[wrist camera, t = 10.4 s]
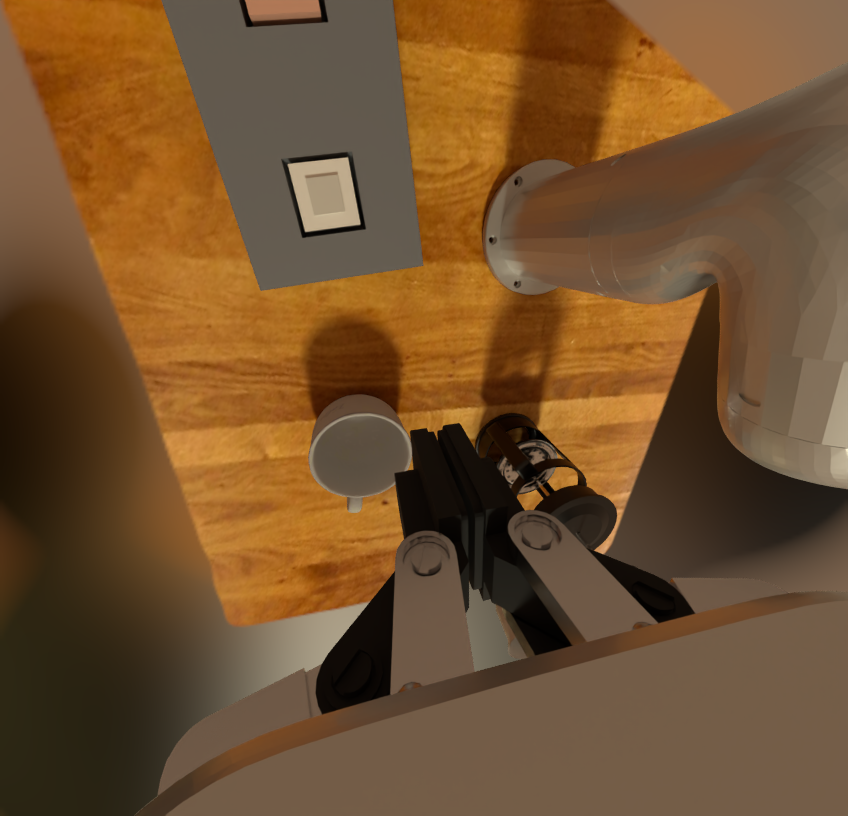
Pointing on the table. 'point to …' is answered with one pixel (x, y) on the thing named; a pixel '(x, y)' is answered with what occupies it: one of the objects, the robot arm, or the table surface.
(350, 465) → the teacup
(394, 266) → the key console
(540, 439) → the french press
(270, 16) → the key terracotta
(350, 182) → the key ivory
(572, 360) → the table surface
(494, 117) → the table surface
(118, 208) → the table surface
